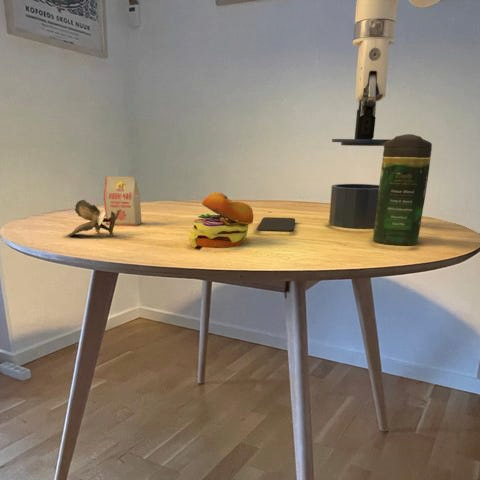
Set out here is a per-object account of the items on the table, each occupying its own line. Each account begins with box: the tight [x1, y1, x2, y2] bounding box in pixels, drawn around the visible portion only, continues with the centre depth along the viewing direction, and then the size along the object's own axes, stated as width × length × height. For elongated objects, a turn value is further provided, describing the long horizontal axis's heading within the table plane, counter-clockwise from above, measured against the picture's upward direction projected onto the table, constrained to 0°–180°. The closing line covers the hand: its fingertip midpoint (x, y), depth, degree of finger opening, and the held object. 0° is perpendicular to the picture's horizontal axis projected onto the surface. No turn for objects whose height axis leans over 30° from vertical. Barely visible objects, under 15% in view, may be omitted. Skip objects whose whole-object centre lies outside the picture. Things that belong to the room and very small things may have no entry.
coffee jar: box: [372, 133, 433, 247], centre depth 82 cm, size 10×8×19 cm
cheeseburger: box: [188, 191, 254, 248], centre depth 82 cm, size 10×11×10 cm
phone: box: [256, 216, 296, 233], centre depth 100 cm, size 7×1×15 cm
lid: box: [331, 109, 393, 147], centre depth 94 cm, size 13×13×7 cm
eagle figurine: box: [67, 199, 119, 237], centre depth 90 cm, size 8×7×9 cm
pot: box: [328, 183, 379, 230], centre depth 100 cm, size 12×12×8 cm
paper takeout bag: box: [103, 175, 143, 226], centre depth 102 cm, size 4×7×10 cm, turn 80°
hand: (363, 137), depth 95 cm, fingers closed on lid, 3 cm apart
